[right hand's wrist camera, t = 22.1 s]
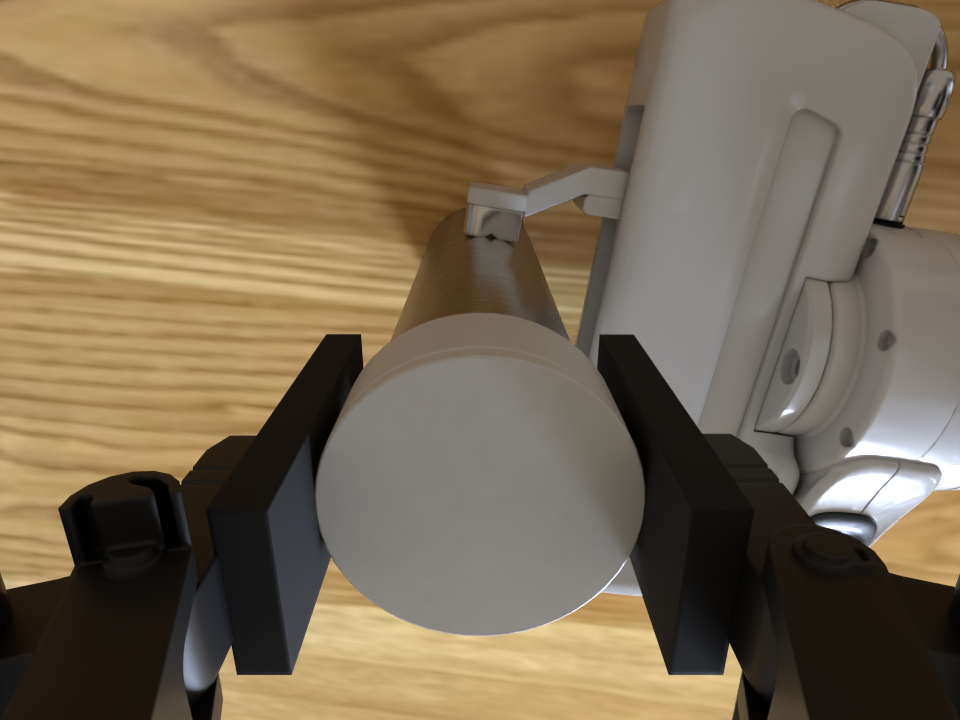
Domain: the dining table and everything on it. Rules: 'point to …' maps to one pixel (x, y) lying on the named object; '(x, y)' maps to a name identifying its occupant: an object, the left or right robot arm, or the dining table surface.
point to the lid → (480, 478)
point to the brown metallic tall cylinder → (478, 279)
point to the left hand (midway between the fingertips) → (453, 297)
